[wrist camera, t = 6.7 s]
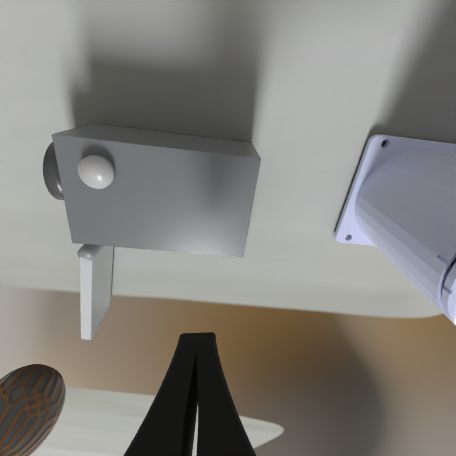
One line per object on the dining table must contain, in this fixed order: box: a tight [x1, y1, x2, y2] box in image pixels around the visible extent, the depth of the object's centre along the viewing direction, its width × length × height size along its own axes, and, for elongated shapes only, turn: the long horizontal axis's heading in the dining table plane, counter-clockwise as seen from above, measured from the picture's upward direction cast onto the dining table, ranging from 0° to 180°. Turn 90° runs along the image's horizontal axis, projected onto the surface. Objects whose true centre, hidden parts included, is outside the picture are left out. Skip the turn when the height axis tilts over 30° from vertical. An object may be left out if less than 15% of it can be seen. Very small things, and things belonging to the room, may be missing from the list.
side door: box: [78, 244, 114, 340], centre depth 19 cm, size 8×1×4 cm, turn 165°
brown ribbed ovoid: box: [0, 364, 66, 456], centre depth 24 cm, size 7×7×9 cm
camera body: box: [43, 123, 261, 257], centre depth 16 cm, size 11×6×5 cm, turn 83°
